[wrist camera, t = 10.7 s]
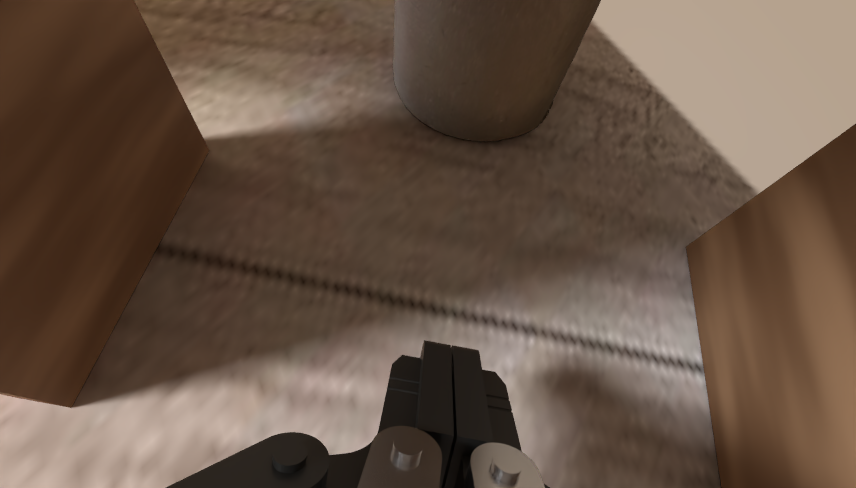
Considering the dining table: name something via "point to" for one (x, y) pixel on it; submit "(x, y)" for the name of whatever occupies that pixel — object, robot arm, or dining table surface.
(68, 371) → the wooden arch gate
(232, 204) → the dining table surface
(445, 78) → the pillar candle
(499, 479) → the robot arm
